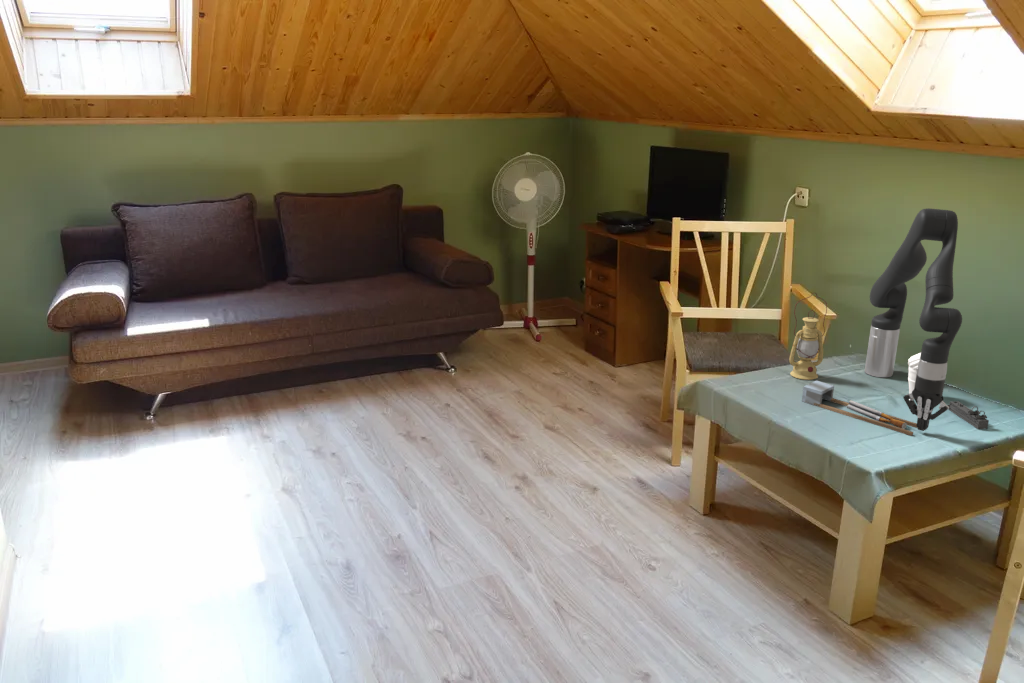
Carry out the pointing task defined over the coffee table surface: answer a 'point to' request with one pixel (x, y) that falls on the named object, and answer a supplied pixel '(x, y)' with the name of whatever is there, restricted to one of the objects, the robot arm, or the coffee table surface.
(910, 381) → the soft serve ice cream cone
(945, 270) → the robot arm
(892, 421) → the chisel
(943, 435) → the coffee table surface
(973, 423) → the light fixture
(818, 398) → the holder
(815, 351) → the lantern
